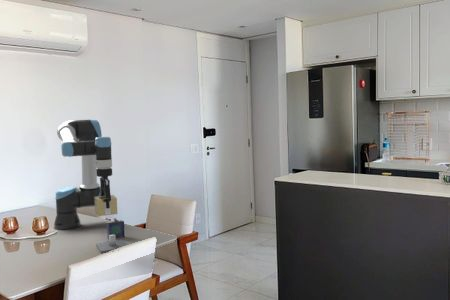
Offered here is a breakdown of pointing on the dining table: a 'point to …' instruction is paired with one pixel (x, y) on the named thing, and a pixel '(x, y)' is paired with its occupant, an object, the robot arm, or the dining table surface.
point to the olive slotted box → (101, 208)
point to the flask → (115, 228)
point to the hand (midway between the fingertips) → (106, 212)
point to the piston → (110, 244)
